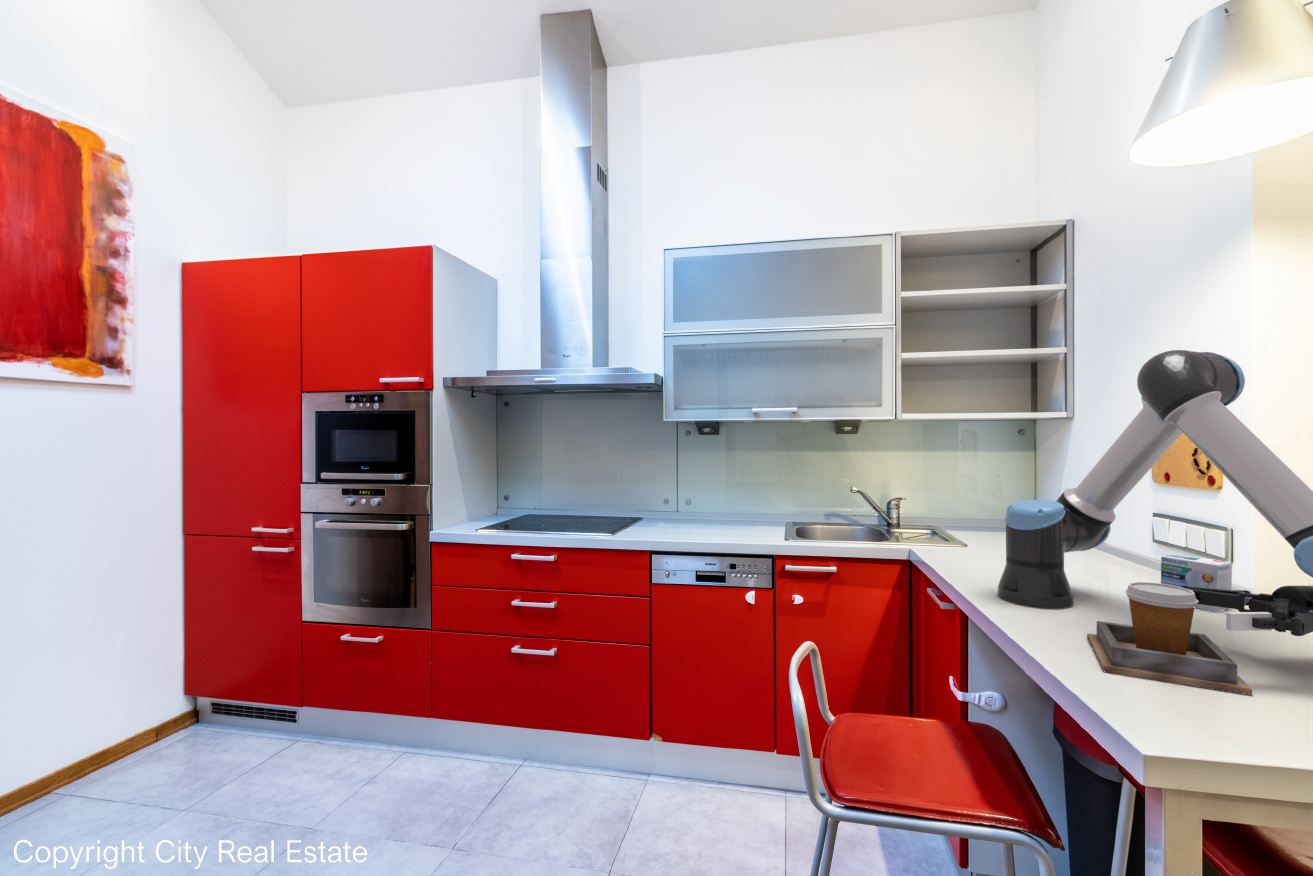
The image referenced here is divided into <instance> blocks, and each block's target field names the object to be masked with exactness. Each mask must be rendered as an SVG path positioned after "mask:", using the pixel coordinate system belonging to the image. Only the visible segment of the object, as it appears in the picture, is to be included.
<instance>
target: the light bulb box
mask: <svg viewBox="0 0 1313 876" xmlns="http://www.w3.org/2000/svg"><path fill="white" fill-rule="evenodd" d="M1232 566H1233V565H1232V561H1227V560H1219V559H1213V558H1205V557H1199V556H1191V555H1186V554H1179V553H1172V554H1166V555H1162V556H1161V559H1160V584H1167V585H1173V586H1178V587H1181V586H1190V587H1201V588H1213V589H1224V590H1232V583H1233V581H1232V579H1233V578H1232V577H1233V576H1232V575H1233V571H1232V570H1233V569H1232V568H1233V567H1232ZM1197 608H1200V609H1199V610H1202V609H1205V610H1204V611H1206V610H1209V611H1208V612H1211V611H1214V612H1213V613H1215V612H1218V613H1220V612H1219V611H1222V610H1226V609H1230V608H1223V607H1216V606H1209V605H1201V604H1196V607H1195V608H1194V609H1197ZM1230 610H1231V609H1230ZM1226 611H1227V610H1226ZM1222 612H1223V611H1222Z"/></svg>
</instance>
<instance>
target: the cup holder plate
mask: <svg viewBox="0 0 1313 876" xmlns="http://www.w3.org/2000/svg"><path fill="white" fill-rule="evenodd" d="M1086 635H1087V636H1086V639H1087V641H1088V643H1089V645H1090V647H1091V649H1092V648H1093V649H1092V652H1093V653H1094V655H1095V658H1096V659H1097V662H1098V661H1099V662H1098V663H1100V664H1099V666H1100V665H1101V666H1100V667H1102V668H1101V669H1103V670H1102V672H1103V671H1105V672H1104V673H1107V672H1111V673H1110V674H1114V673H1116V674H1115V675H1120V674H1121V676H1126V675H1129V676H1128V677H1132V676H1134V677H1133V678H1139V677H1140V679H1145V678H1147V679H1146V680H1151V679H1152V680H1151V681H1158V682H1164V683H1170V684H1171V683H1172V684H1176V685H1177V684H1178V685H1182V684H1186V685H1185V686H1189V685H1193V686H1192V687H1195V686H1199V687H1198V688H1201V687H1206V688H1205V689H1207V688H1213V689H1212V690H1214V689H1218V690H1217V691H1220V690H1224V691H1223V692H1226V691H1231V692H1230V693H1232V692H1238V693H1245V694H1250V695H1249V696H1251V695H1252V696H1253V689H1252V687H1251V686H1249V684H1248V683H1247V682H1245V680H1243V678H1241V677H1240V676H1239V675H1238V664H1237V663H1236V662H1235V661H1234V660H1233V659H1232V658H1231V657H1229V655H1227V654H1226V653H1225V651H1223V650H1222V649H1221V648H1220V647H1219V646H1218V645H1217V644H1215V642H1214V641H1212V640H1211V639H1210V638H1209V637H1208V636H1207V635H1206V634H1204V633H1194V632H1190V636H1189V641H1188V648H1187V653H1186V655H1181V654H1174V653H1166V652H1159V651H1152V650H1145V649H1138V648H1136V643H1135V636H1134V630H1133V624H1131V625H1130V624H1125V623H1115V622H1109V621H1100V620H1096V633H1094V634H1093V633H1088V632H1087V634H1086ZM1238 693H1237V694H1238ZM1245 694H1244V695H1245Z"/></svg>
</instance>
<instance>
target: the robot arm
mask: <svg viewBox="0 0 1313 876" xmlns="http://www.w3.org/2000/svg"><path fill="white" fill-rule="evenodd" d="M1136 381H1137V382H1136V384H1137V385H1136V386H1137V389H1138V392H1139V394H1140V395H1141V398H1140V399H1141V400H1140V401H1141V403H1142V409H1141V410H1140V411H1139V412H1138V413H1137V414H1136V415H1135V417H1134V418H1133V419H1132V421H1130V422H1129V424H1128V425H1127V427H1126V428H1125V429H1124V430H1123V432H1122V433H1121V434H1120V435H1119V436H1118V437H1117V438H1116V439H1115V441H1114V442H1113V443H1112V445H1110V447H1109V448H1108V449H1107V450H1106V452H1105V453H1104V454H1103V455H1102V456H1101V458H1100V459H1099V460H1098V461H1097V462H1096V464H1095V465H1094V466H1093V467H1092V469H1090V471H1089V472H1088V473H1087V474H1086V475H1085V477H1084V478H1083V479H1082V480H1081V482H1080V483H1079V484H1078V485H1077V486H1076V487H1075V488H1073V487H1072V488H1067V489H1065V490H1064V491H1063V492H1062V493H1061V494H1060V496H1059V497H1058V498H1057V500H1051V499H1050V500H1049V499H1030V500H1029V499H1025V500H1018V501H1014V502H1012V503H1010V504H1009V505H1008V506H1007V507H1006V510H1005V511H1006V513H1005V515H1006V516H1005V520H1004V522H1005V565H1004V566H1005V567H1004V569H1003V572H1002V574H1001V577H1000V580H999V582H998V584H997V596H998V597H999V598H1001V599H1002V600H1004V601H1006V602H1009V603H1012V604H1017V605H1021V606H1027V607H1033V608H1042V609H1066V608H1067V609H1068V608H1071V607H1073V606H1074V594H1073V590H1072V588H1071V586H1070V582H1069V579H1068V578H1067V574H1066V572H1065V553H1072V552H1083V551H1088V550H1091V549H1093V548H1096V547H1098V546H1100V545H1102V544H1104V542H1105V541H1107V539H1108V538H1109V535H1110V533H1111V529H1112V528H1111V524H1113V522H1114V521H1116V520H1115V519H1116V513H1115V511H1114V510H1115V509H1116V507H1117V506H1118V505H1119V504H1120V503H1121V502H1122V501H1123V500H1124V498H1126V496H1127V495H1129V493H1130V492H1131V491H1132V490H1133V489H1134V488H1135V487H1136V485H1137V484H1139V482H1140V481H1141V480H1142V479H1143V478H1144V476H1146V475H1147V473H1148V472H1149V471H1150V470H1151V469H1152V468H1153V467H1154V465H1155V464H1156V463H1157V462H1158V461H1159V460H1160V459H1161V458H1162V457H1163V455H1165V453H1166V452H1167V451H1168V450H1169V449H1170V447H1171V446H1173V444H1175V443H1176V441H1178V439H1179V438H1180V437H1181V436H1182V435H1183V434H1184V435H1185V436H1186V437H1187V439H1189V441H1190V442H1191V443H1192V444H1193V445H1194V446H1195V447H1196V448H1197V449H1198V450H1199V451H1200V452H1201V453H1202V454H1203V455H1204V456H1205V457H1206V458H1207V459H1208V460H1209V461H1210V462H1211V464H1213V466H1215V468H1216V469H1217V470H1218V471H1219V472H1220V473H1221V474H1222V475H1223V476H1224V477H1225V478H1226V479H1227V480H1228V482H1229V483H1231V484H1232V485H1233V486H1234V488H1235V489H1237V491H1238V492H1239V493H1240V494H1241V495H1242V496H1243V497H1244V498H1245V499H1246V500H1247V501H1248V502H1249V503H1250V504H1251V505H1252V506H1253V508H1254V509H1256V511H1257V512H1259V514H1260V515H1261V516H1262V517H1263V518H1264V519H1265V520H1266V521H1267V522H1268V523H1269V524H1270V525H1271V526H1272V527H1273V528H1274V530H1275V531H1276V532H1277V533H1278V534H1279V535H1280V536H1281V537H1282V538H1283V539H1284V540H1285V541H1286V542H1287V543H1288V544H1289V545H1290V547H1292V549H1293V550H1294V551H1293V559H1294V561H1295V563H1296V566H1297V567H1298V568H1299V569H1300V570H1301V571H1302V572H1303V573H1304V574H1306V575H1307V576H1309V577H1311V578H1313V490H1312V489H1311V488H1310V487H1309V485H1307V484H1306V483H1305V482H1304V481H1303V480H1302V479H1301V478H1300V477H1299V476H1298V475H1297V474H1296V473H1295V472H1293V471H1292V469H1290V467H1288V465H1286V463H1284V461H1282V460H1281V459H1280V458H1279V457H1278V455H1276V454H1275V453H1274V452H1273V451H1272V450H1271V448H1269V447H1268V446H1267V445H1266V444H1265V443H1264V442H1263V441H1262V440H1261V439H1260V438H1259V437H1257V435H1256V434H1254V432H1253V431H1251V430H1250V428H1248V427H1247V426H1246V425H1245V423H1243V422H1242V421H1241V420H1240V419H1239V418H1238V417H1237V416H1236V415H1235V414H1234V412H1232V411H1230V409H1229V408H1227V406H1228V405H1230V404H1232V403H1234V402H1235V401H1236V400H1237V399H1238V398H1239V397H1240V395H1241V394H1242V393H1243V391H1244V388H1245V383H1246V377H1245V374H1244V372H1243V369H1242V368H1241V366H1240V365H1239V364H1238V363H1237V362H1236V361H1234V360H1233V359H1232V358H1229V357H1227V356H1225V355H1221V354H1218V353H1215V352H1211V351H1210V352H1209V351H1202V352H1201V351H1191V350H1187V349H1186V350H1185V349H1175V350H1174V349H1172V350H1167V351H1163V352H1161V353H1158V354H1156V355H1154V356H1152V357H1151V358H1150V359H1148V360H1147V361H1146V362H1145V363H1144V364H1143V365H1142V367H1141V368H1140V370H1139V372H1138V375H1137V378H1136ZM1181 587H1182V588H1185V589H1189V590H1191V591H1193V592H1194V593H1195V597H1196V599H1197V600H1198V603H1197V604H1201V605H1209V606H1216V607H1223V608H1231V609H1230V610H1237V612H1235V611H1234V612H1233V611H1232V612H1231V611H1230V612H1229V611H1228V612H1226V613H1225V615H1226V616H1225V619H1226V620H1225V621H1226V622H1225V624H1226V625H1225V627H1226V628H1225V630H1228V631H1240V632H1242V631H1245V632H1246V631H1247V632H1248V631H1251V632H1254V631H1256V632H1257V631H1273V630H1274V631H1276V632H1278V633H1286V631H1288V632H1290V635H1293V636H1295V637H1303V636H1305V635H1308V634H1311V633H1313V584H1312V585H1311V584H1310V585H1283V586H1280V587H1278V588H1276V589H1275V590H1274V591H1273V592H1272V593H1271V594H1270V593H1259V594H1257V593H1251V591H1249V590H1246V589H1243V590H1242V589H1241V590H1237V589H1236V590H1235V589H1233V590H1232V589H1231V590H1224V589H1213V588H1201V587H1190V586H1181ZM1245 607H1248V609H1247V608H1245Z"/></svg>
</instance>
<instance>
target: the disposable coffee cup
mask: <svg viewBox="0 0 1313 876" xmlns="http://www.w3.org/2000/svg"><path fill="white" fill-rule="evenodd" d="M1124 593H1125V594H1126V596H1127V598H1128V604H1129V609H1130V616H1131V621H1132V622H1131V623H1132V624H1131V625H1133V630H1134V636H1135V643H1136V648H1138V649H1145V650H1152V651H1159V652H1166V653H1174V654H1181V655H1186V653H1187V648H1188V641H1189V636H1190V633H1191V630H1192V624H1193V617H1194V612H1195V608H1194V607H1196V604H1197V603H1198V600H1197V599H1196V597H1195V593H1194V592H1193V591H1191V590H1189V589H1185V588H1182V587H1178V586H1173V585H1167V584H1161V582H1159V583H1158V582H1149V581H1148V582H1147V581H1143V582H1142V581H1135V582H1130V583H1128V587H1127V589H1126V590H1125V591H1124Z"/></svg>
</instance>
